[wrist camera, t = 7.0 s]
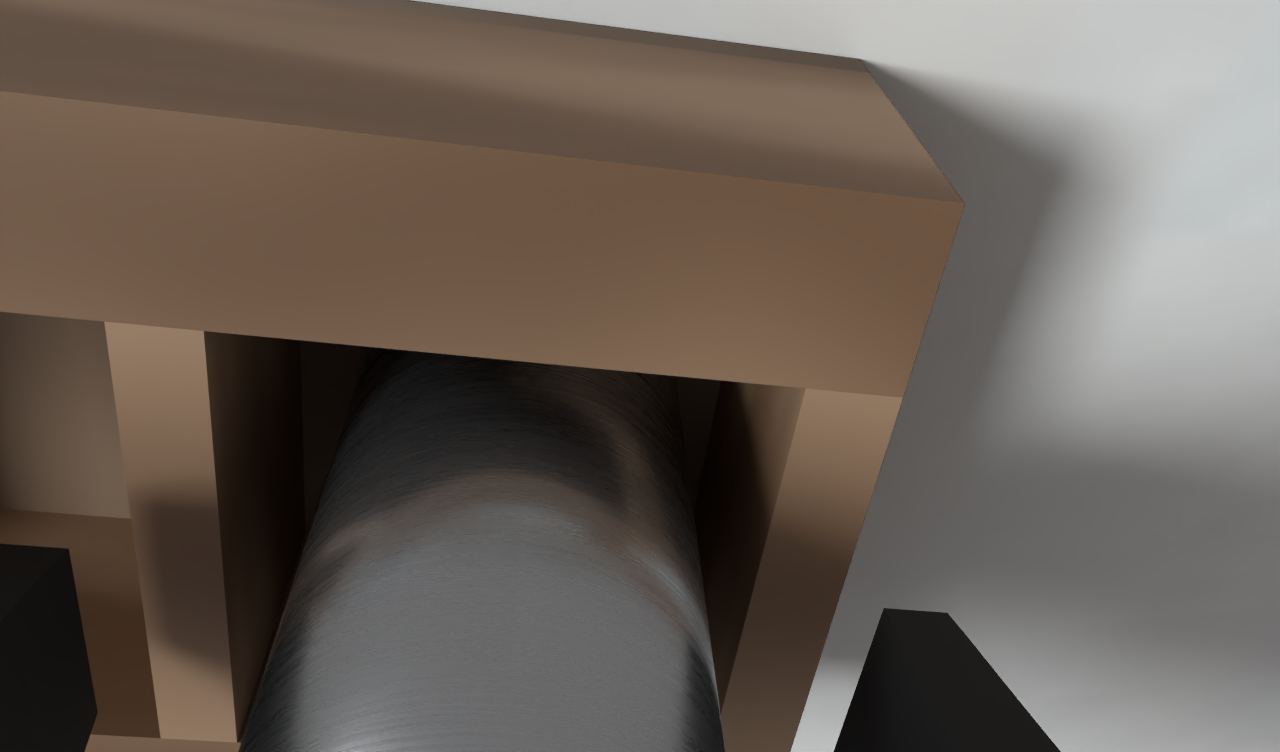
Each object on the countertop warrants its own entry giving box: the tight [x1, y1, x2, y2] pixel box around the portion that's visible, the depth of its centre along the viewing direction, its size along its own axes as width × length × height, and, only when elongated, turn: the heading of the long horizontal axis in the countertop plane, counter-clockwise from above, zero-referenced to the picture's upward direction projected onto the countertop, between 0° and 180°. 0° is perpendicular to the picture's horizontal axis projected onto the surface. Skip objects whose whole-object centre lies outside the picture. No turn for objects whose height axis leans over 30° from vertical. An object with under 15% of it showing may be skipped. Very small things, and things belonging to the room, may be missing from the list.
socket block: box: [0, 0, 965, 752], centre depth 12 cm, size 9×13×4 cm
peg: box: [238, 347, 725, 752], centre depth 11 cm, size 4×4×7 cm
